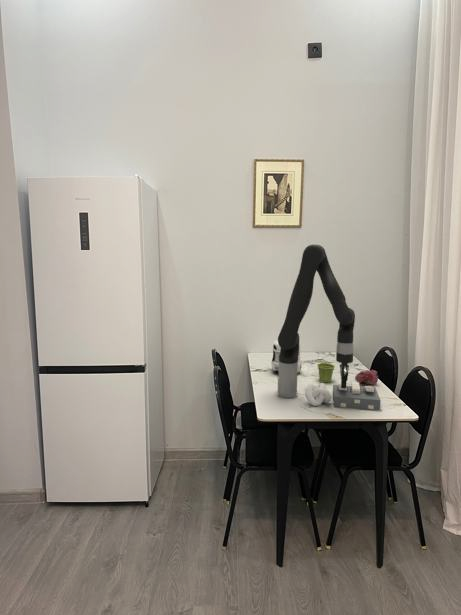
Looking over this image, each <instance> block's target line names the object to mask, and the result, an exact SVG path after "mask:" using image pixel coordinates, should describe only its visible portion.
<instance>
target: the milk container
mask: <svg viewBox="0 0 461 615" xmlns="http://www.w3.org/2000/svg"><path fill="white" fill-rule="evenodd" d="M272 347H273V348H272V359H271V363H270V364H271V370H272V371H273V372H274V373H276V374H279V354H280V350H281V347H280V346H279V344H278V339H276V340H275V339H274V341H273V346H272ZM301 369H302V360H301V341H299V355H298V370H297V374H298V373H300V371H301Z"/></svg>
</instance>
